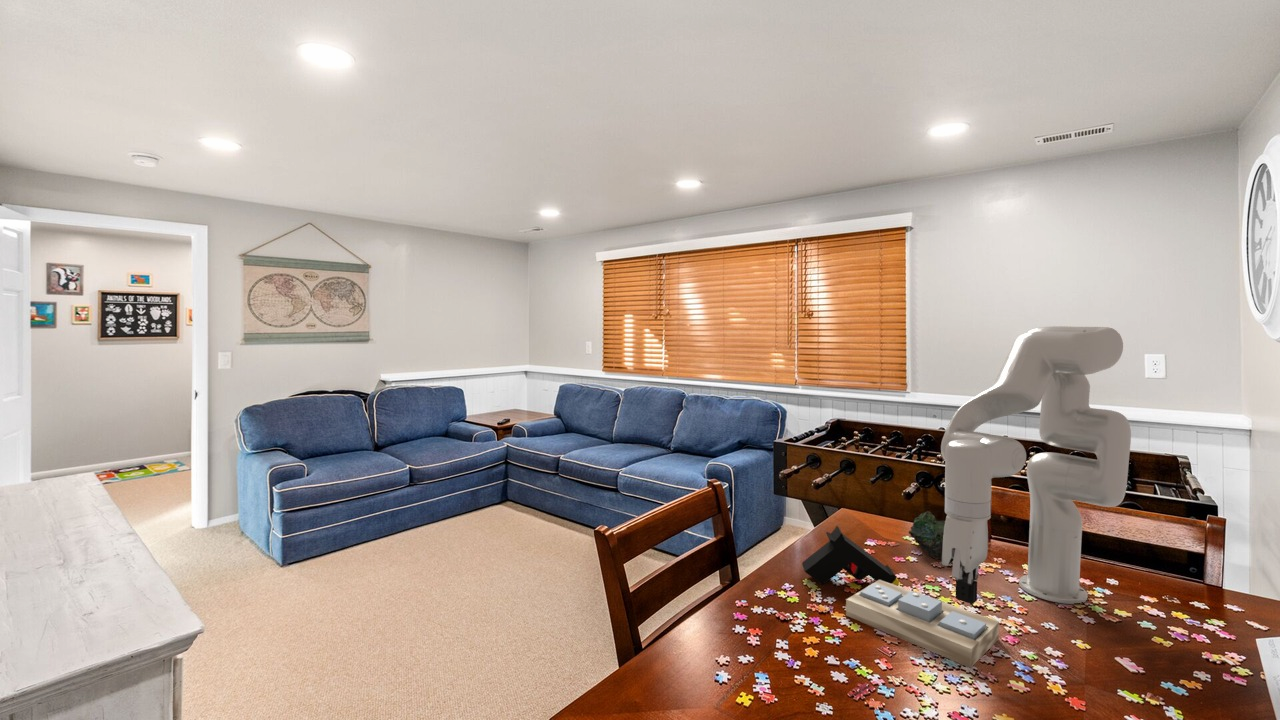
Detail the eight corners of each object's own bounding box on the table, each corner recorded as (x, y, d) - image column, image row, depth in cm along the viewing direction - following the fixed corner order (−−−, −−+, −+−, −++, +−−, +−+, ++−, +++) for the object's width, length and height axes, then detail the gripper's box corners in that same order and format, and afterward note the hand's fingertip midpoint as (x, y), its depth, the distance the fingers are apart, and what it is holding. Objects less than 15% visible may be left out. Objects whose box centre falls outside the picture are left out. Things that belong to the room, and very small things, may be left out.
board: (878, 594, 129) (879, 579, 129) (998, 639, 111) (999, 621, 111) (845, 615, 120) (846, 599, 120) (970, 667, 102) (971, 648, 102)
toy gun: (867, 620, 133) (902, 580, 131) (804, 571, 134) (838, 531, 133) (862, 609, 138) (896, 570, 136) (801, 562, 139) (833, 523, 138)
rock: (894, 543, 159) (895, 508, 158) (929, 540, 161) (930, 505, 160) (927, 564, 145) (929, 526, 144) (966, 561, 147) (967, 523, 146)
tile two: (911, 602, 119) (911, 589, 119) (941, 613, 115) (942, 600, 115) (897, 611, 116) (898, 598, 115) (928, 623, 111) (929, 610, 111)
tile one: (952, 623, 113) (952, 610, 113) (985, 635, 109) (986, 622, 109) (939, 634, 110) (939, 620, 109) (973, 647, 105) (973, 633, 105)
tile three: (874, 594, 126) (874, 582, 125) (901, 604, 121) (902, 592, 121) (860, 603, 122) (860, 590, 121) (888, 614, 117) (888, 601, 117)
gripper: (961, 492, 115) (960, 580, 117) (929, 511, 106) (928, 607, 107) (1004, 501, 110) (1002, 593, 111) (973, 522, 100) (972, 622, 102)
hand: (966, 599), depth 109 cm, fingers closed
